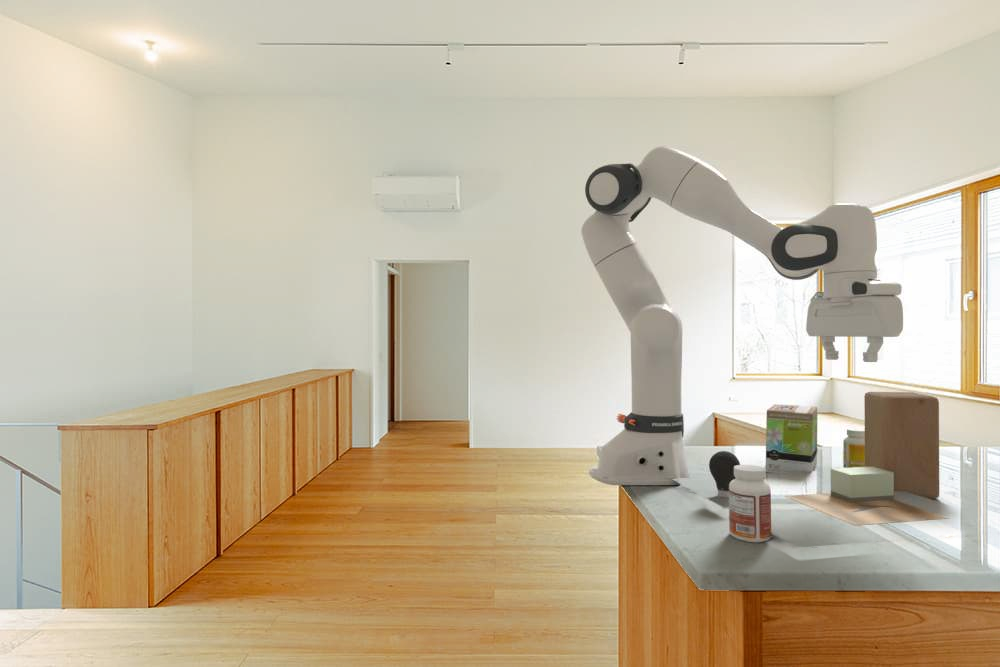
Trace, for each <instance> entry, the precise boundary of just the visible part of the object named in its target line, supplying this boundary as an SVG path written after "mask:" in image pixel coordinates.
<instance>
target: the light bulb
mask: <svg viewBox="0 0 1000 667" xmlns="http://www.w3.org/2000/svg"><path fill="white" fill-rule="evenodd" d="M736 465H741V462H740V460H739V459H738V457H737V456H736V455H735V454H733V453H732V452H730V451H727V450H726V451H725V450H721V451H717V452H716V453H713V455H712V456H711V458H710V459H709V463H708V468H709V472H710V474H711V476H712V478H713V480H714V481H715V485H716V488H717V489H716V490H717V496H718V497H721V498H725V499H726V498H727V499H729V484H730V482H731V481H732V480H734V479H735V476H734V466H736Z"/></svg>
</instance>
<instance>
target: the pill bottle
mask: <svg viewBox="0 0 1000 667" xmlns="http://www.w3.org/2000/svg"><path fill="white" fill-rule="evenodd" d="M766 474H767V472H766V467H763V466H760V465H755V464H754V465H753V464H740V465H736V466H734V476H735V479H734V480H732V481H731V482H730V484H729V498H728V504H729V506H728V507H729V508H728V510H729V511H728V512H729V513H728V514H729V517H728V518H729V519H728V520H729V525H728V526H729V534H730V535H731V536H732V537H733V538H735V539H737V540H740V541H743V542H747V543H764V542H767V541H769V540H771V539H772V495H771V494H772V493H771V487H770V484H769V483H768V482H766V481H765V480H764V479H765V478H766V476H767V475H766Z"/></svg>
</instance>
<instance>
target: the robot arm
mask: <svg viewBox="0 0 1000 667" xmlns="http://www.w3.org/2000/svg"><path fill="white" fill-rule="evenodd" d="M584 191H585V192H584V194H585V197H586V200H587V202H588V204H589V205H590V207H592V208H593V209H594V210H595V212H594V213H593V214H591V215H590V216H589V217H587V218H586V220H585V221H584V222H583V224H582V227H581V230H580V231H581V237H582V239H583V243H584V246H585V249H586V252H587V254H588V256H589V259H590V260H591V263H592V265H593V267H594V268H595V271H596V272H597V274H598V276H599V278H600V280H601V282H602V284H603V285H604V288H605V289H606V291H607V293H608V295H609V296H610V298H611V300H612V302H613V304H614V305H615V307H616V309H617V311H618V313H619V314H620V316H621V318H622V319H623V321H624V323H625V325H626V327H627V328H628V330H629V333H630V363H631V369H630V371H631V373H630V374H631V412H630V413H629V414H627V415H625V414H622V413H618V414H617V416H616V420H617V422H618V423H620V424H623V426H624V429H622V430H621V431H620V432H619V433H618V434H616V435H615V436H613V438H612V439H610V440H609V441H608V442H606V443H605V444H603V445H602V447H601V449H600V451H599V452H600V453H599V456H598V462H597V463H598V464H597V465H594V466H590V467H589V469H588V475H589V476H590V477H591V478H592V479H594V480H596V481H597V482H600V483H602V484H605V485H610V486H678V485H681V483H680V482H678V481H676V480H675V479H690V473H689V470H688V466H687V462H686V457H685V449H684V441H683V437H684V434H685V431H684V430H685V425H684V424H685V423H684V421H685V420H684V413H682V373H683V372H682V370H683V369H682V368H683V366H682V365H683V322H682V320H681V318H680V316H679V315H678V313H677V312H676V311H675V310H674V309H673V308H672V307H671V305H670V303H669V302H668V300H667V298H666V296H665V293H664V292H663V290H662V288H661V286H660V284H659V282H658V280H657V277H656V276H655V274H654V272H653V270H652V268H651V267H650V265H649V262H648V261H647V259H646V257H645V256H644V253H643V252H642V250H641V248H640V246H639V244H638V242H637V241H636V239H635V237H634V236H633V233H632V231H631V229H630V226H629V225H630V224H629V223H632V222H633V221H635V219H636V218H637V217H638V216H639V215H640V214H641V212H643V210H644V209H645V208H647V206H648V205H649V203H650V202H651V200H652V198H654V199H655V200H656V199H657V200H658V201H661V202H663V203H664V204H666V205H667V206H669V207H671V208H672V209H673V210H676V211H677V212H679V213H681V214H683V215H685V216H688V217H689V218H692V219H693V220H696V221H700V222H702V223H705V224H708V225H710V226H712V227H716V228H719V229H721V230H723V231H726V232H727V233H730V234H731V235H733V236H734V237H736V238H737V239H740V240H741V241H742V242H744V243H745V244H748V246H751V247H753V248H754V249H756V250H757V251H758V252H760V253H761V254H763V256H765V257H766V258H767V260H768V261H769V262H770V263H771V265H772V267H773V269H774V270H775V271H776V272H777V273H778V274H779V275H780V276H782V277H784V278H785V279H788V280H793V281H799V280H801V281H802V280H806V279H808V278H811V277H812V276H814V275H816V273H817V272H819V271H820V270H822V271H823V272H822V274H823V275H822V277H823V291H817V292H815V293H814V295H813V296H812V297H811V298H810V303H809V305H808V308H807V315H806V323H805V324H806V327H805V331H806V334H807V335H808V337H820V344H821V346H822V347H823V349H824V351H825V359H826V360H829V361H834V360H835V361H837V360H839V356H840V355H839V350H836V348H835V345H834V343H835V342H836V338H837V337H839V338H841V337H844V338H845V337H847V338H848V337H852V338H854V337H856V338H858V337H859V338H860V337H862V338H866V343H867V344H869V345H868V347H867V349H866V352H865V351H864V352H862V357H863V358H862V360H863V362H865V363H876V362H877V363H878V360H879V359H878V358H879V357H878V355H879V354H878V353H879V352H880V350H881V348H882V347H883V344H884V338H895V337H899V336H900V335H901V334H902V332H903V329H904V309H903V303H902V300H901V299H900V297H899V296H901V293H902V289H903V288H902V284H900V283H898V282H897V281H891V280H887V279H884V278H881V277H878V268H877V265H876V262H875V257H876V252H877V250H878V237H877V226H876V225H877V224H876V219H875V216H874V213H873V211H872V209H870V208H869V207H867V206H865V205H862V204H858V203H852V202H851V203H849V202H843V203H842V202H841V203H834V204H831V205H829V206H827V207H826V208H825V209H824V210H822V211H820V212H819V213H817V214H816V215H814V216H812V217H809V218H808V219H806V220H803V221H800V222H797V223H794V224H792V225H789V226H785V227H784V228H782V227H780V226H778V225H777V224H776V223H774V222H772V221H770V220H769V219H767V218H765V217H764V216H762V215H760V214H759V213H757V212H755V211H754V210H753V209H751V208H750V207H749V206H747V205H746V204H745V203H744V202H743V200H742V199H741V198H740V197H739V195H738V193H737V192H736V191H735V189H734V187H733V186H732V185H731V183H730V181H729V180H728V179H727V178H726V177H725V176H724V175H723V174H721V173H720V172H719V171H718V170H717V169H715V168H714V167H712V166H711V165H710V164H708V163H706V162H704V161H702V160H700V159H699V158H697V157H695V156H692V155H690V154H688V153H685V152H683V151H680V150H678V149H676V148H673V147H669V146H665V145H664V146H662V145H661V146H657V147H654V148H653V149H652V150H650V151H648V153H647V154H646V155H645V156H644V157H643V159H642V160H641V162H640V163H639V164H638V165H636V166H635V164H633V163H610V164H605V165H603V166H600V167H598V168H596V169H595V170H594V171H592V173H591V174H590V175H589V176H588V177H587V180H586V183H585V187H584Z"/></svg>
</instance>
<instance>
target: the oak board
mask: <svg viewBox="0 0 1000 667" xmlns="http://www.w3.org/2000/svg"><path fill="white" fill-rule="evenodd" d="M785 497H786V498H788V499H791V500H793V501H795V502H798V503H800V504H803V505H805V506H808V507H810V508H813V509H814V510H817V511H820V512H822V513H824V514H827V515H829V516H832V517H833V518H837V519H838V520H841V521H843V522H845V523H848V524H851V525H852V526H867V525H881V524H892V523H893V524H895V523H907V522H919V521H933V520H947V519H950V518H949V517H947V516H945V515H944V516H943V515H941V514H938V513H935V512H932V511H929V510H927V509H923V508H921V507H920V508H919V507H917V506H914V505H911V504H909V503H905V502H902V501H899V500H897V499H896V500H895V499H894V500H879V501H863V502H849V501H846V500H843V499H841V498H838V497H836V496H833V495H831V492H830V493H829V492H825V493H812V494H810V493H809V494H796V495H795V494H794V495H793V494H792V495H785Z"/></svg>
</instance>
